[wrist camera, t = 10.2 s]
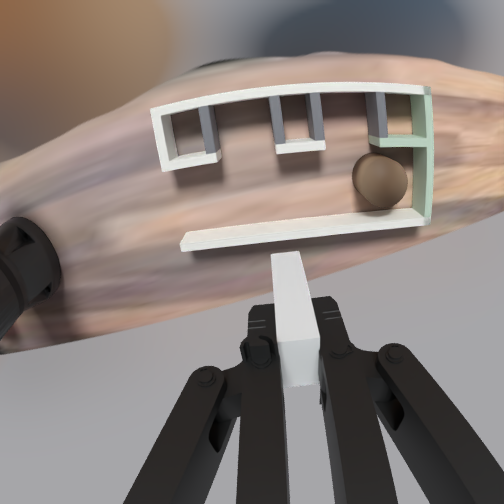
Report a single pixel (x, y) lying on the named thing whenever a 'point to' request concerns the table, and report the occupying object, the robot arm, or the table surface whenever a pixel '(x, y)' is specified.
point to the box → (377, 136)
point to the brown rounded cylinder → (380, 179)
